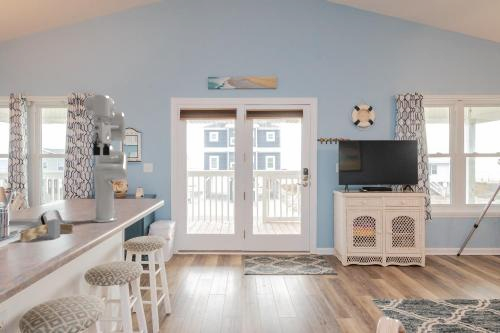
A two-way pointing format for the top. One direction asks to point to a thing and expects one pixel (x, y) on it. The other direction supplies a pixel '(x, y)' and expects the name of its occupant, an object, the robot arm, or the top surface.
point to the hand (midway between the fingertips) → (101, 155)
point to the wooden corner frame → (43, 231)
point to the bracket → (51, 230)
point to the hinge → (50, 217)
